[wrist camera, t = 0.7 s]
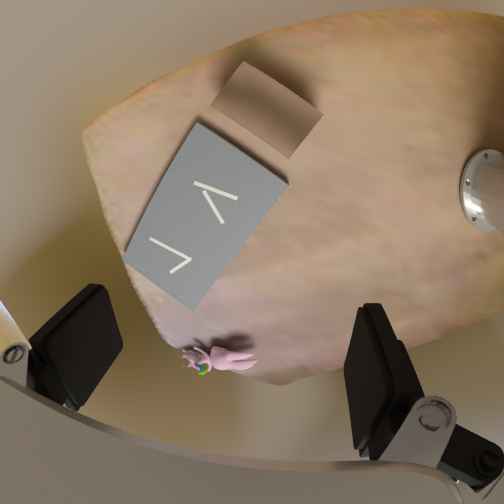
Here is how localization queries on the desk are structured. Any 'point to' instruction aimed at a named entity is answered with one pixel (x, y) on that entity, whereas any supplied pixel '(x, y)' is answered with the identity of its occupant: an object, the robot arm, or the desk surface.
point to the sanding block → (267, 109)
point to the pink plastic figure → (217, 359)
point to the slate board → (201, 215)
